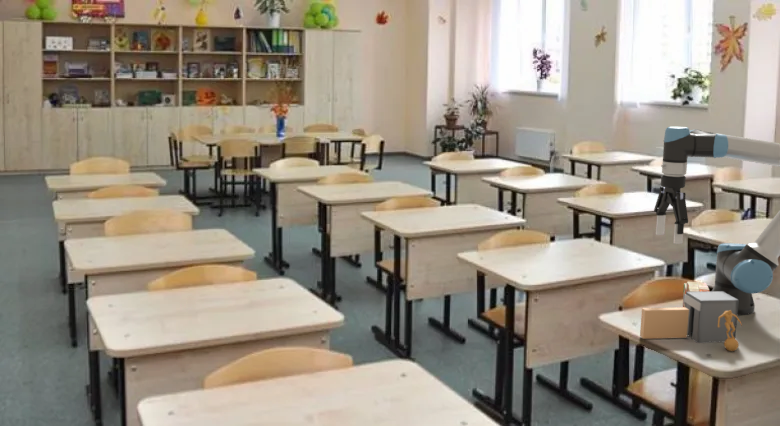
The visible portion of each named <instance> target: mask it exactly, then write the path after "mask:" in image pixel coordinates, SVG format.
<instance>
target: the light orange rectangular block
mask: <svg viewBox="0 0 780 426" xmlns="http://www.w3.org/2000/svg"><path fill="white" fill-rule="evenodd" d="M688 316H689V309H687V308H686V307H683V306H682V307H681V306H680V307H642V308H641V318H640V331H639V332H640V333H639V337H640V338H641V339H643V340H645V339H683V338H684V339H685V338H687V337H688V335H687V328H688Z"/></svg>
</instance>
